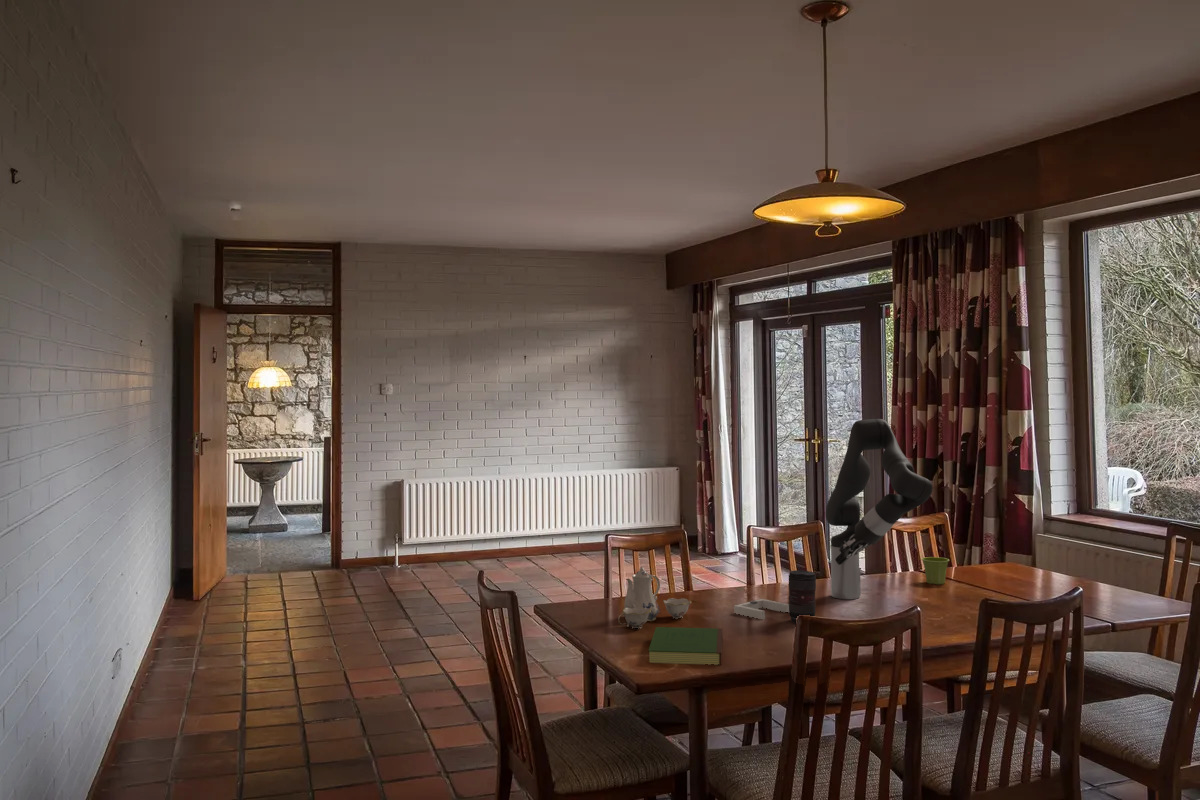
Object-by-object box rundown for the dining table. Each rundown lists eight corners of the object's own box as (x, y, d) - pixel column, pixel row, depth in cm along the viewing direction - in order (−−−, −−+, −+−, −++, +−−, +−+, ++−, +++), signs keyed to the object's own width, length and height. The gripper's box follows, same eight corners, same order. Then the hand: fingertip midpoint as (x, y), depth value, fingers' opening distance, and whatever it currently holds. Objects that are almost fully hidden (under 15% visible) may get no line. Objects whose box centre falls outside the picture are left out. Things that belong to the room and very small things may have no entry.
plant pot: (916, 581, 338) (916, 557, 338) (939, 579, 341) (939, 556, 341) (931, 586, 329) (931, 562, 329) (954, 584, 332) (954, 560, 332)
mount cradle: (761, 606, 302) (761, 596, 302) (789, 612, 294) (789, 602, 294) (734, 613, 293) (734, 603, 293) (761, 619, 285) (761, 609, 285)
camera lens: (816, 625, 277) (816, 575, 277) (788, 624, 279) (788, 574, 278) (815, 618, 285) (815, 570, 285) (788, 617, 286) (788, 569, 286)
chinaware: (638, 639, 270) (642, 583, 269) (597, 624, 281) (600, 570, 280) (697, 621, 290) (701, 569, 289) (656, 607, 302) (660, 557, 300)
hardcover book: (721, 667, 238) (721, 652, 238) (648, 665, 241) (648, 650, 241) (722, 641, 263) (722, 627, 263) (656, 639, 266) (656, 626, 266)
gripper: (879, 512, 269) (843, 549, 278) (853, 516, 260) (817, 554, 270) (896, 532, 265) (858, 569, 274) (870, 537, 256) (833, 575, 266)
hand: (838, 562), depth 272 cm, fingers closed
